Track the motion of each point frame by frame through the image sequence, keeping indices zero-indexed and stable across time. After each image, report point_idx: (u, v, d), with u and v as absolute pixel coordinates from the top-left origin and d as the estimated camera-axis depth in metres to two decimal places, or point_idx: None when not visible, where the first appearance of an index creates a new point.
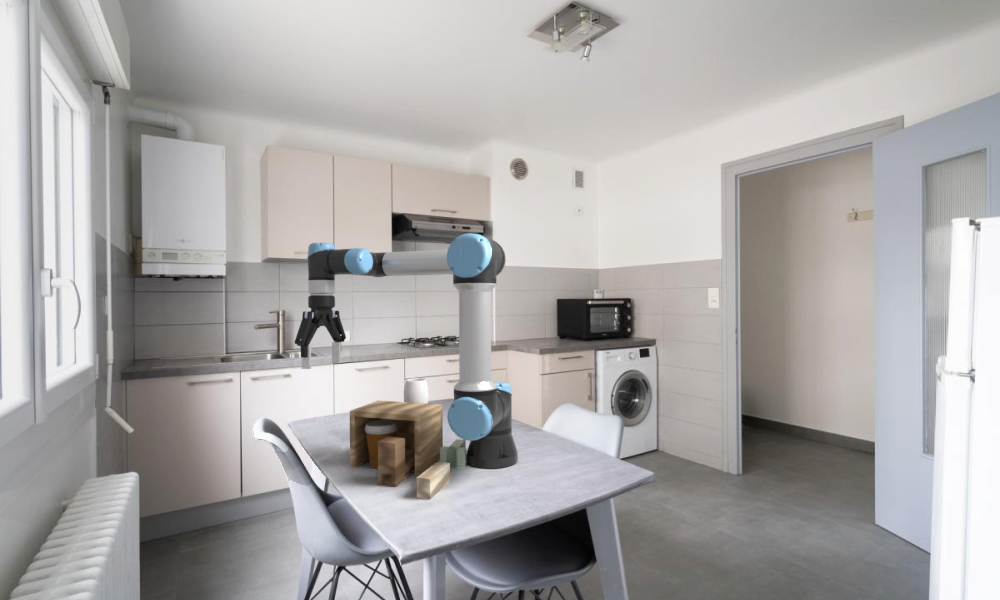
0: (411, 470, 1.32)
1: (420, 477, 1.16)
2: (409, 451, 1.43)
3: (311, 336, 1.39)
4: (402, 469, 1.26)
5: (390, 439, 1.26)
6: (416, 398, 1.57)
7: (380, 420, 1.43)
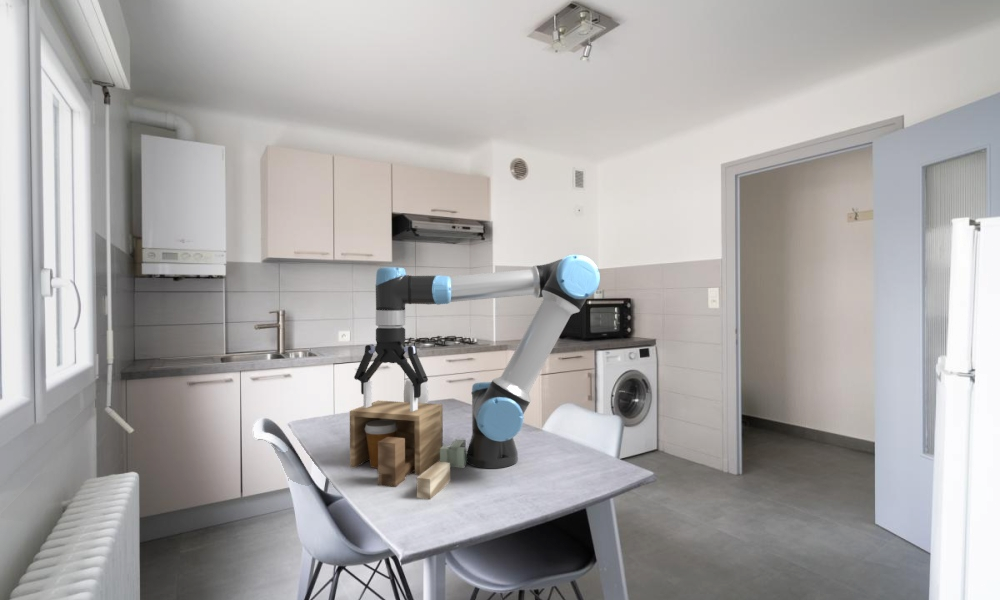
0: (411, 470, 1.32)
1: (420, 477, 1.16)
2: (409, 451, 1.43)
3: (368, 372, 1.26)
4: (402, 469, 1.26)
5: (390, 439, 1.26)
6: None
7: (380, 420, 1.43)
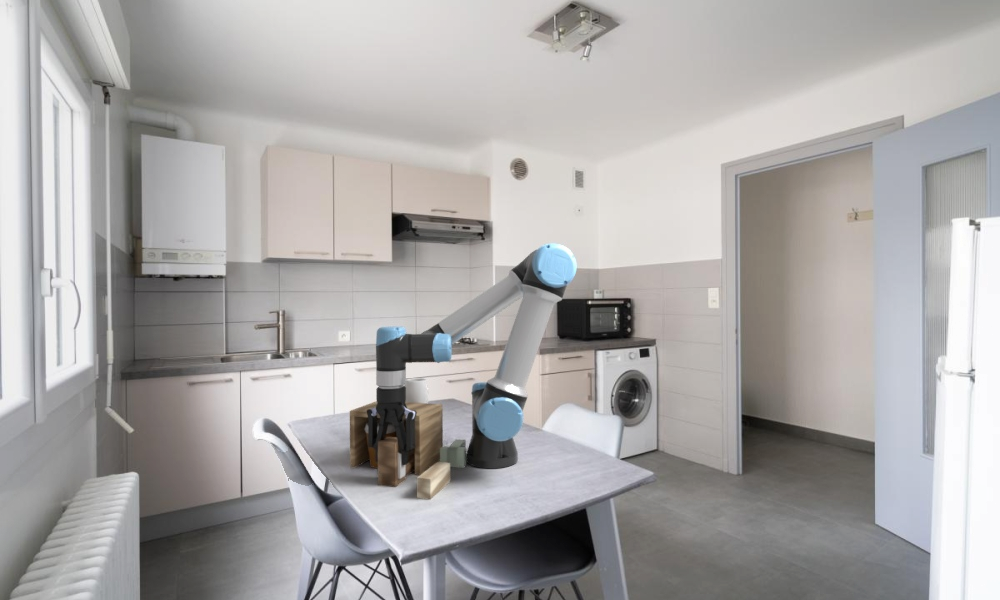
0: (411, 470, 1.32)
1: (420, 477, 1.16)
2: (409, 451, 1.43)
3: (378, 438, 1.25)
4: None
5: (390, 439, 1.26)
6: (416, 398, 1.57)
7: None
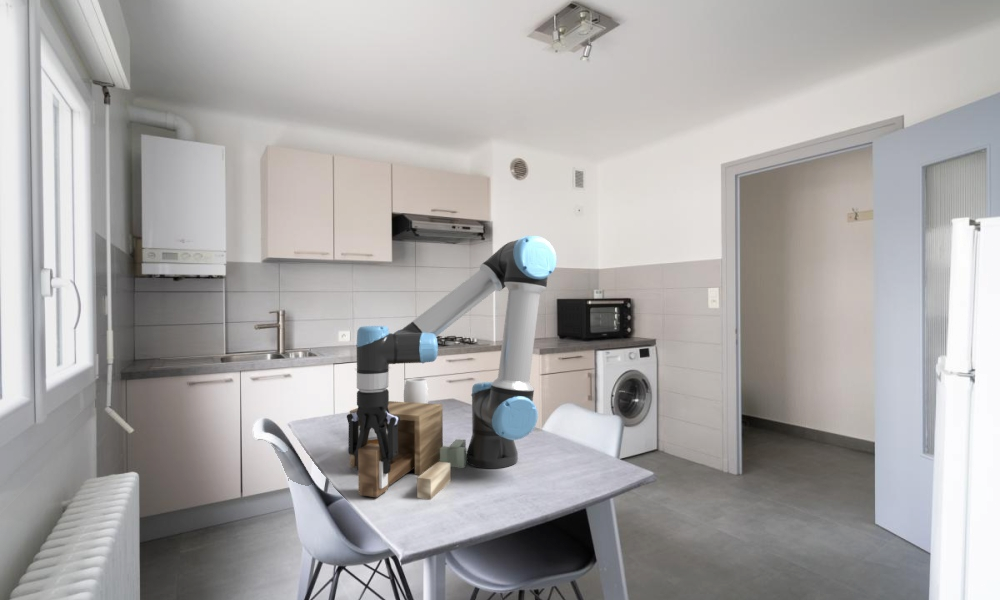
0: (396, 478, 1.24)
1: (421, 477, 1.16)
2: None
3: (359, 445, 1.17)
4: None
5: (372, 446, 1.18)
6: (416, 398, 1.57)
7: None
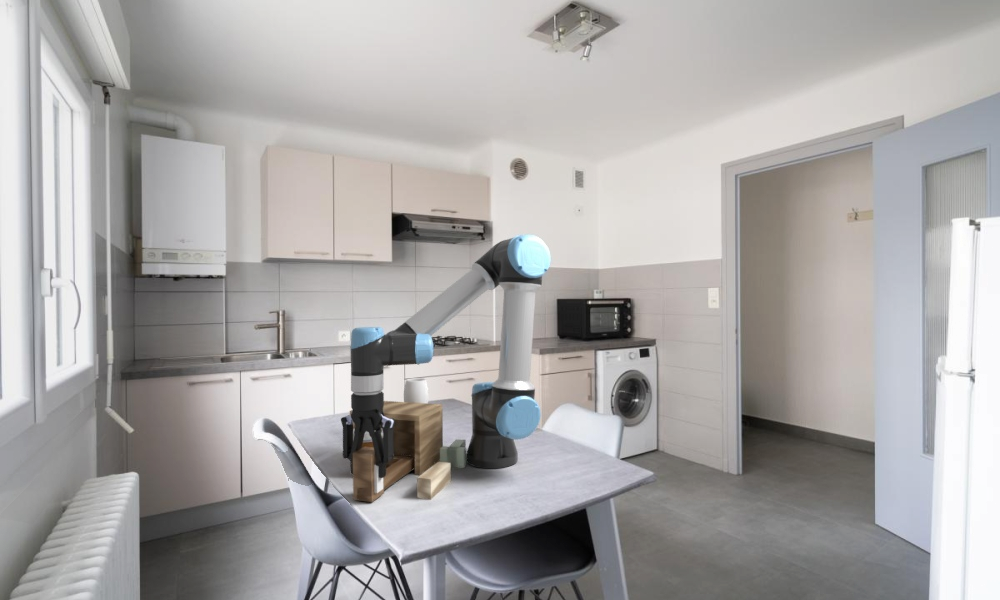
0: (391, 482, 1.22)
1: (421, 477, 1.16)
2: (391, 460, 1.33)
3: (354, 449, 1.15)
4: None
5: (367, 450, 1.15)
6: (416, 398, 1.57)
7: None
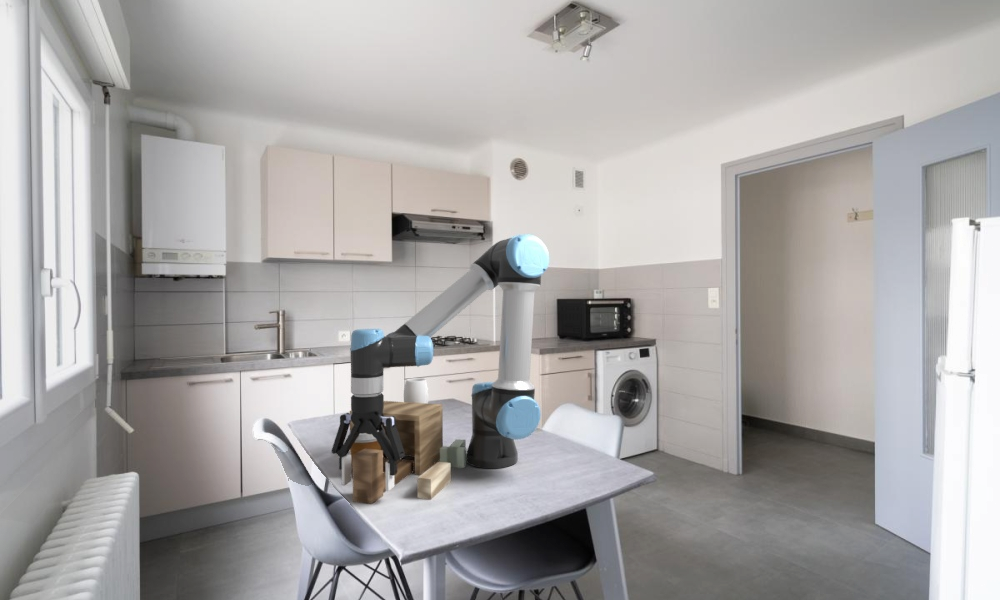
0: None
1: (421, 477, 1.16)
2: None
3: (345, 446, 1.15)
4: (379, 484, 1.15)
5: (367, 451, 1.16)
6: (416, 398, 1.57)
7: None
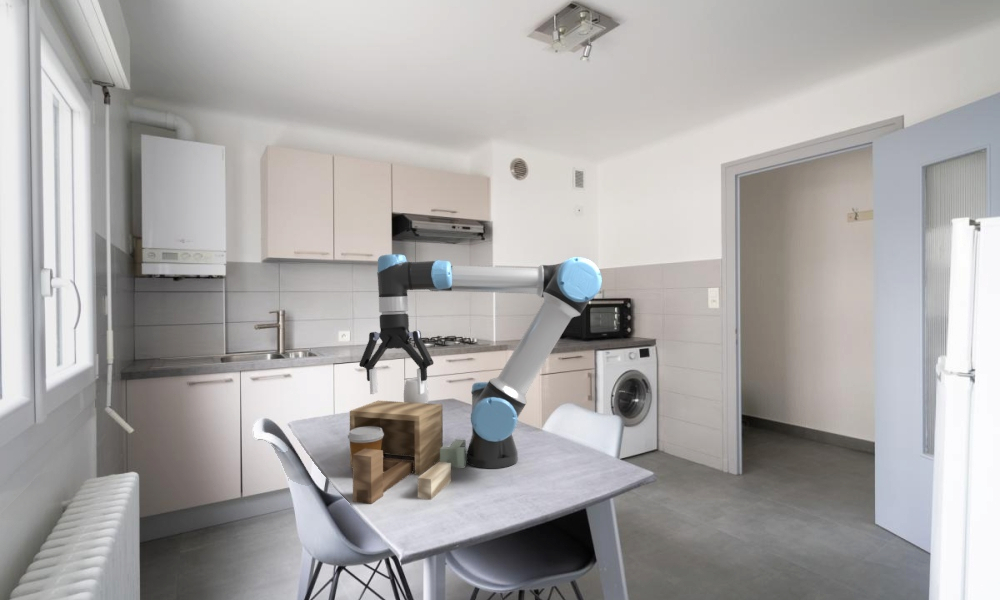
0: (391, 484, 1.22)
1: (421, 477, 1.15)
2: (391, 463, 1.33)
3: (373, 359, 1.28)
4: (379, 484, 1.15)
5: (367, 451, 1.16)
6: (416, 398, 1.57)
7: (365, 427, 1.35)
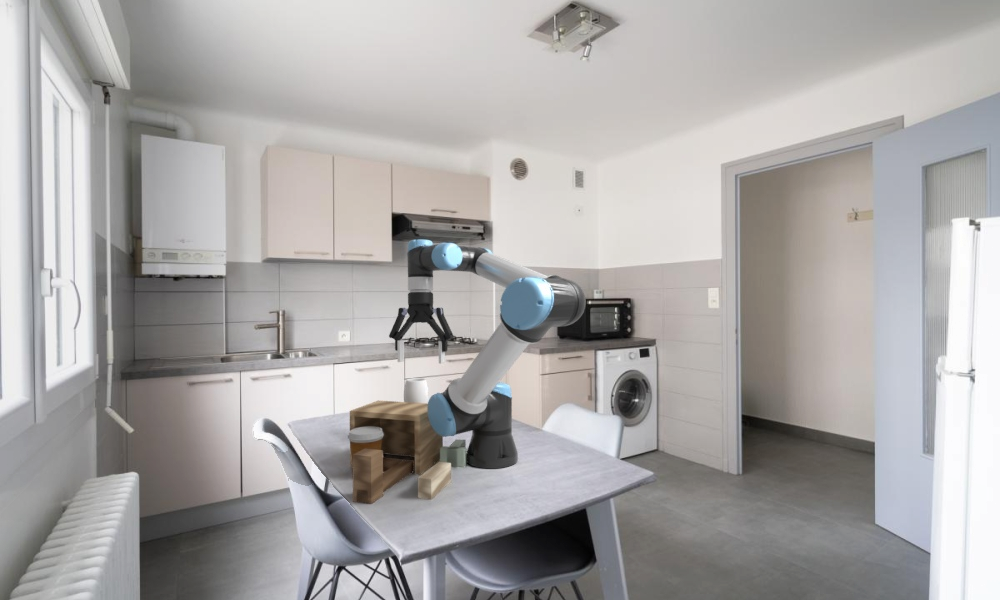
0: (391, 484, 1.22)
1: (421, 477, 1.15)
2: (391, 463, 1.33)
3: (401, 331, 1.46)
4: (379, 484, 1.15)
5: (367, 451, 1.16)
6: (416, 398, 1.57)
7: (365, 427, 1.35)
